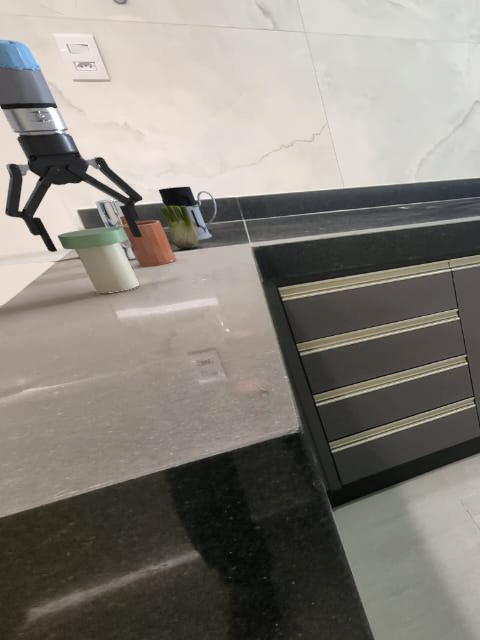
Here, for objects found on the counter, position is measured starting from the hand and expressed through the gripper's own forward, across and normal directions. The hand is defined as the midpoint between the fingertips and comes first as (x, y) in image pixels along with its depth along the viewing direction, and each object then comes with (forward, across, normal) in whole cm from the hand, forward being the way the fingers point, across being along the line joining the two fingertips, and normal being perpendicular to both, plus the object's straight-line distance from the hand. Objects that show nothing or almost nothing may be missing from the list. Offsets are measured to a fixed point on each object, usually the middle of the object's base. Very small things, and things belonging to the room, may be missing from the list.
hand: (97, 243), depth 111 cm
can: (+10, 0, 0) cm, 10 cm away
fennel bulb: (+10, +25, +34) cm, 44 cm away
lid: (0, 0, 0) cm, 0 cm away
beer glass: (+10, +14, +36) cm, 40 cm away
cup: (+10, +14, +22) cm, 28 cm away
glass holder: (+10, +34, +48) cm, 60 cm away
